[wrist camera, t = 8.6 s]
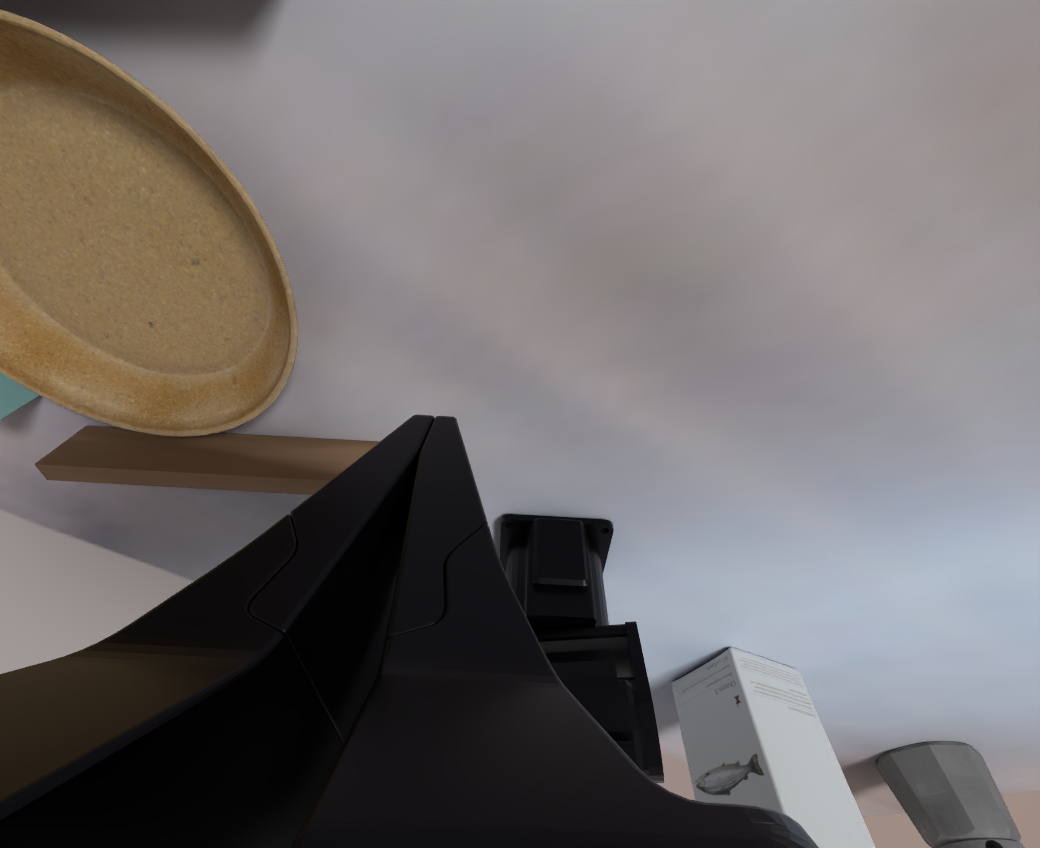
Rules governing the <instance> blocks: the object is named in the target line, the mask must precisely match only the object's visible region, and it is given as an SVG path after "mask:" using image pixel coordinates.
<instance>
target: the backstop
mask: <svg viewBox="0 0 1040 848" xmlns="http://www.w3.org/2000/svg"><path fill="white" fill-rule="evenodd" d="M38 396H39V395H38V394H36V393H34V392H32V391H30V390H28V389H27V388H25V387H23V386H22V385H20V384H18V383H17V382H15V381H14V380H12V379H10V378H9V377H7V376H5V375H4V374H2V373H1V372H0V419H2V418H4V417H5V416H7V415H8V414H10V413H12V412H13V411H15V410H17V409H18V408H20V407H21V406H23V405H25V404H26V403H28V402H30V401H31V400H33V399H35V398H36V397H38Z"/></svg>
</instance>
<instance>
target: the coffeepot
mask: <svg viewBox="0 0 1040 848" xmlns="http://www.w3.org/2000/svg"><path fill="white" fill-rule="evenodd" d="M876 768H877V769H878V771H879V772H880V774H881V775H882V777H883V779H884V780H885V782H886V783H887V785H888V786H889V788H890V789H891V791H892V792H893V794H894V795H895V797H896V798H897V800H898V801H899V803H900V804H901V806H902V807H903V809H904V810H905V812H906V813H907V815H908V816H909V818H910V819H911V821H912V822H913V824H914V826H915V827H916V829H917V830H918V832H919V833H920V834H921V836H922V838H923V839H924V841H925V842H926V843H927V844H928V845H929V846H930V847H932V848H1024V846H1023V844H1021V843H1020V838H1021V835H1020V833H1019V831H1018V829H1017V827H1016V825H1015V823H1014V821H1013V819H1012V817H1011V815H1010V813H1009V810H1008V809H1007V806H1006V804H1005V802H1004V800H1003V798H1002V796H1001V794H1000V792H999V790H998V788H997V786H996V784H995V782H994V780H993V778H992V776H991V773H990V771H989V769H988V767H987V765H986V763H985V761H984V759H983V757H982V755H981V754H980V753H978V752H977V751H976V750H975V749H974V748H973V747H972V746H970V745H968V744H965V743H960V742H951V741H934V742H924V743H917V744H912V745H907V746H903V747H899V748H896V749H894V750H891V751H889V752H887V753H885V754H883V755H882V756H881V757H880V758H879V759H878V762H877V764H876Z"/></svg>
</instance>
